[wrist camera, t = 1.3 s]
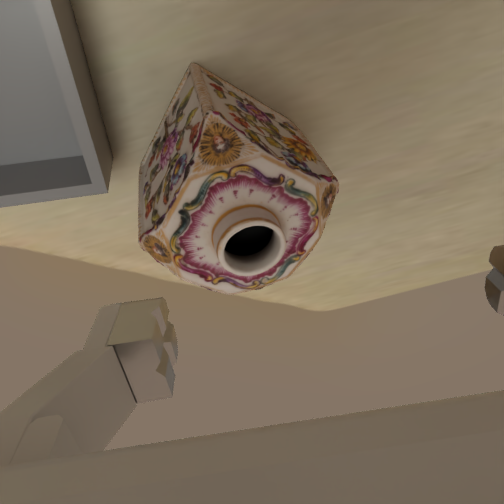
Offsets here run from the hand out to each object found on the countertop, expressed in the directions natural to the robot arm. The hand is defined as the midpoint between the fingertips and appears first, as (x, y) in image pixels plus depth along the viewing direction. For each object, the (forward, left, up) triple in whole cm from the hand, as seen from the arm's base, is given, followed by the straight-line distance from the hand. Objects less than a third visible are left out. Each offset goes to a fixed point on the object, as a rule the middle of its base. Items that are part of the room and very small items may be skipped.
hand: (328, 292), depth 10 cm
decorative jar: (+9, 0, -32) cm, 33 cm away
